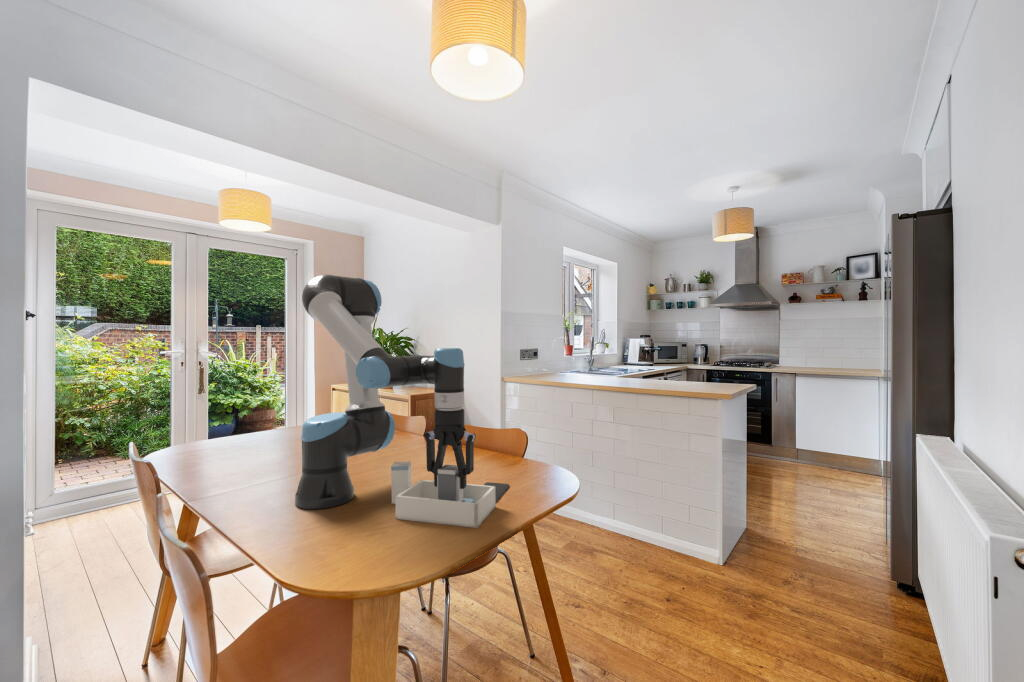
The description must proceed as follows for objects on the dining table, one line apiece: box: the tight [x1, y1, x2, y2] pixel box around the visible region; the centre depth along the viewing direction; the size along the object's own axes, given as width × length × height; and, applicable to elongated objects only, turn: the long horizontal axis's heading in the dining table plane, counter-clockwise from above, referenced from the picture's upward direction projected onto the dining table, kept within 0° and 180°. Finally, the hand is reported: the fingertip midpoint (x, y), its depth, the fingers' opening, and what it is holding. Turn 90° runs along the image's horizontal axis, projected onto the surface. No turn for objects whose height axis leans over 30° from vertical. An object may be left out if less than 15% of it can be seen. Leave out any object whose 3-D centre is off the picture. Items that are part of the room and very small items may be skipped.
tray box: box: [395, 479, 497, 529], centre depth 112 cm, size 22×14×6 cm, turn 74°
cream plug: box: [390, 461, 412, 504], centre depth 121 cm, size 5×5×10 cm
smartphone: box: [483, 482, 510, 504], centre depth 127 cm, size 8×1×16 cm
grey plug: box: [438, 464, 462, 502], centre depth 111 cm, size 5×5×10 cm
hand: (450, 500), depth 112 cm, fingers closed on grey plug, 4 cm apart
